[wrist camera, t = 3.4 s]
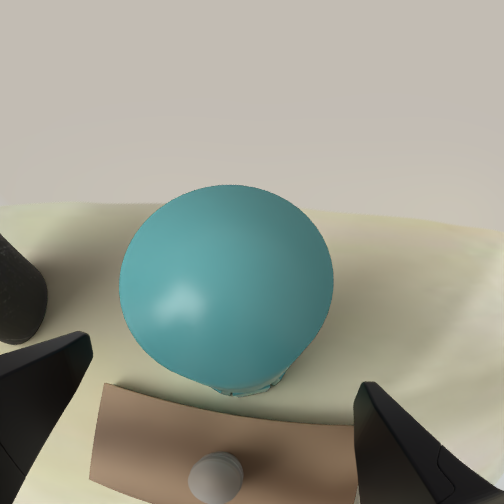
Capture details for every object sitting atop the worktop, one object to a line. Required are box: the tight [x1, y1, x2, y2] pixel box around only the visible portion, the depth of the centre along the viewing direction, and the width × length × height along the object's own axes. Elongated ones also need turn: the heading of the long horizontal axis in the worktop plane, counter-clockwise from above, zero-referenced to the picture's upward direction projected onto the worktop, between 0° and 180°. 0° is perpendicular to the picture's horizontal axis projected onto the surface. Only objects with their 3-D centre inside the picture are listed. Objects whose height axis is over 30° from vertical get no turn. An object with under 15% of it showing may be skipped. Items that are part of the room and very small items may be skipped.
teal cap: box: [119, 185, 333, 397], centre depth 13 cm, size 6×6×12 cm
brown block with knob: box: [89, 383, 358, 504], centre depth 13 cm, size 7×16×4 cm, turn 81°
